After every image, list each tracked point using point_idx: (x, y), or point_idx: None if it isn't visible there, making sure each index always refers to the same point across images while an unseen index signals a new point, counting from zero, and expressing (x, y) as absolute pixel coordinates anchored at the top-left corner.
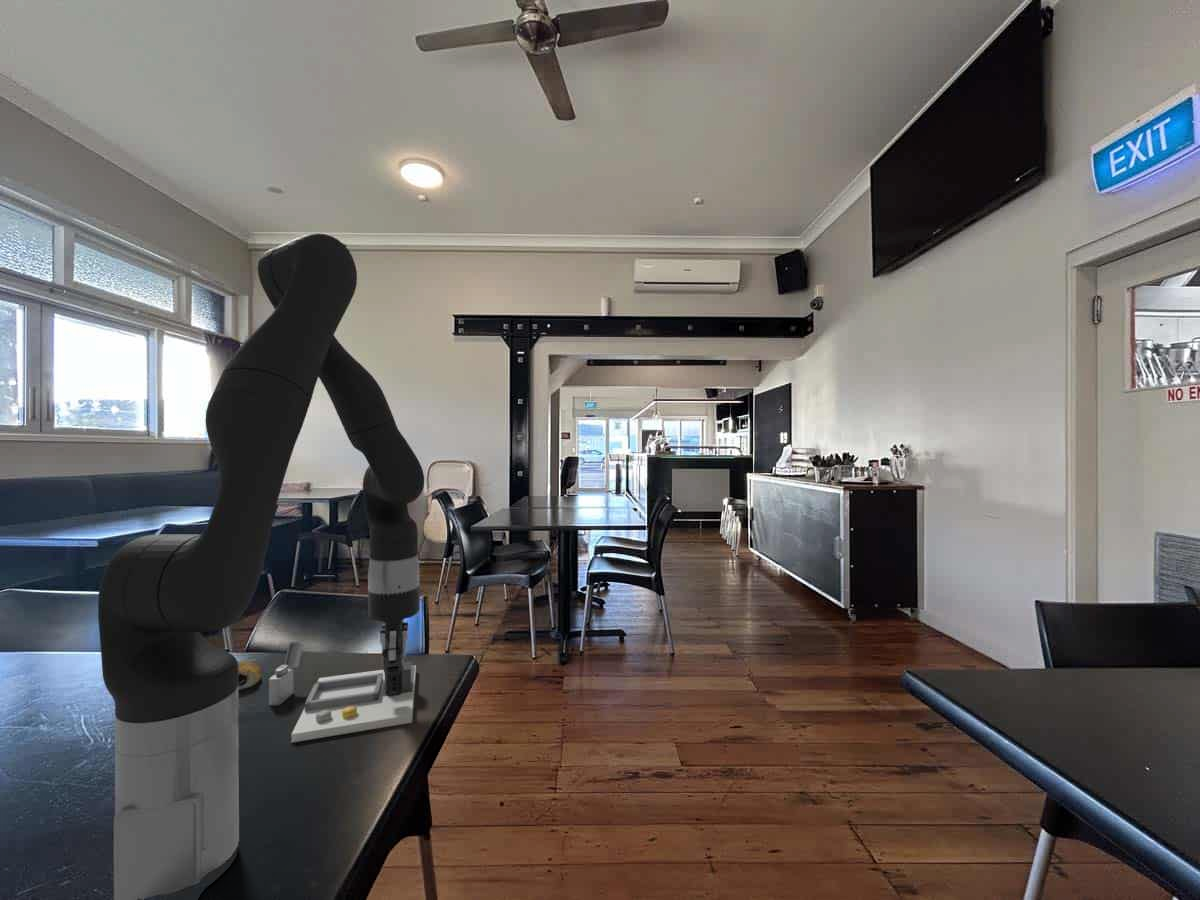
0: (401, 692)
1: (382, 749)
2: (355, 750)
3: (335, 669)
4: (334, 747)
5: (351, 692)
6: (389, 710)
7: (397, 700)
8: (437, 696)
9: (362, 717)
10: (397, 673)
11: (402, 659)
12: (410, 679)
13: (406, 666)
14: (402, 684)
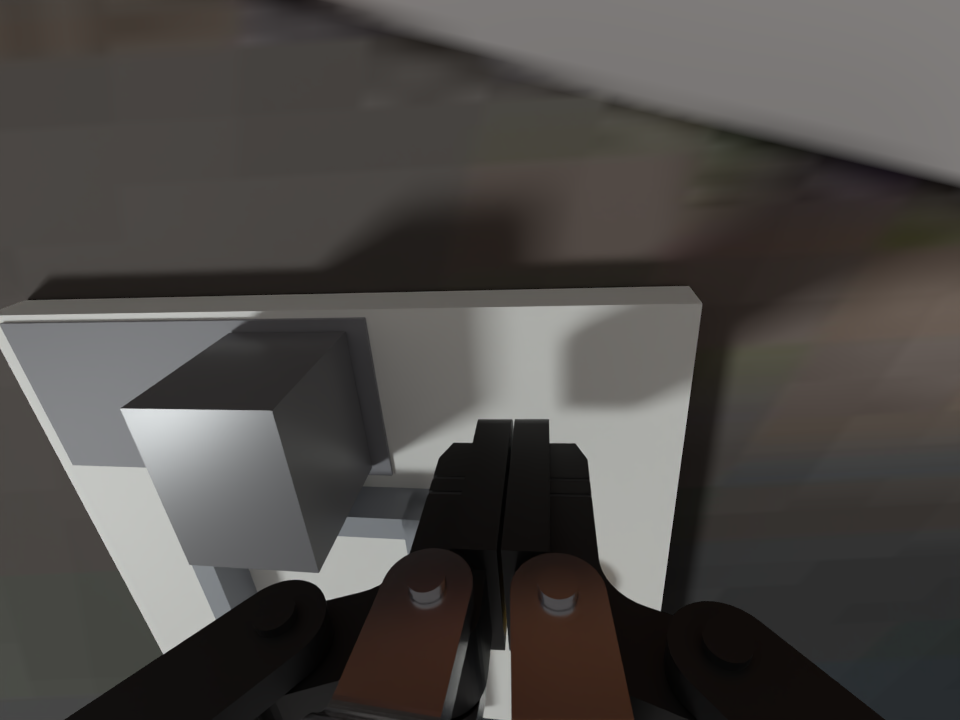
0: (547, 422)
1: (914, 419)
2: (838, 524)
3: (62, 621)
4: (756, 591)
5: (325, 591)
6: (581, 432)
7: (465, 397)
8: (369, 129)
9: (609, 543)
10: (607, 593)
11: (587, 705)
12: (313, 366)
13: (219, 442)
14: (336, 401)
